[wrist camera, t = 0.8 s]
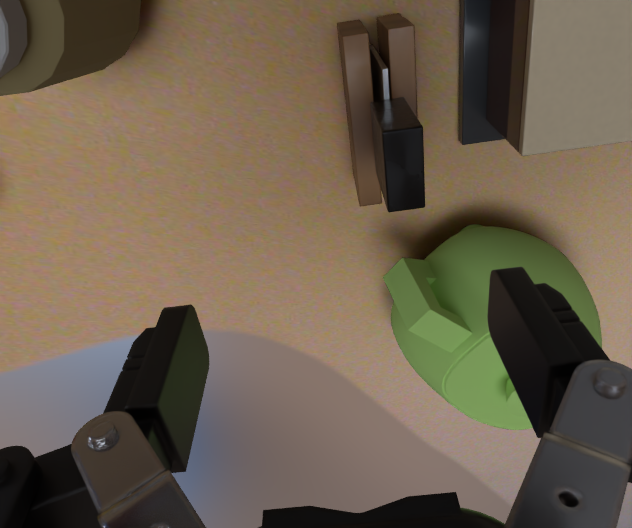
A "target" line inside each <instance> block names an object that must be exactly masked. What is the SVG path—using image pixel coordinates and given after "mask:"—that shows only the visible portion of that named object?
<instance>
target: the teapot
mask: <svg viewBox="0 0 632 528" xmlns="http://www.w3.org/2000/svg"><path fill="white" fill-rule="evenodd" d="M513 267H523V268H524V269H525V271H526V272H527V274H528V275H529V277H530V278H531V280H532V281H533V283H534V284H541V283H546V284H548V285H549V286H551V287H552V288H554V289H555V290H557V291H558V292H560V293H562V294H563V296H564V297H565V299H566V300H567V301H568V303H569V304H570V305H571V307H572V310H574V311H575V312H576V314H577V315H578V317H579V318H580V321H582V322H583V323H584V325H585V326H586V328H587V329H588V330H589V332H590V333H591V335H592V336H593V337H594V339H595V340H596V341H597V343H598V344H599V346H600V347H601V348H602V338H601V328H600V320H599V316H598V312H597V309H596V306H595V304H594V301H593V299H592V296H591V294H590V292H589V290H588V288H587V286H586V284H585V282H584V280H583V279H582V277H581V275H580V274H579V272H578V271H577V270H576V268H575V267H574V266H573V264H572V263H571V262H570V261H569V260H568V259H567V257H566V256H565V255H564V254H562V253H561V252H560V251H559V250H557V249H556V248H555V247H553V246H552V245H550V244H548V243H547V242H545V241H543V240H541V239H539V238H537V237H534V236H532V235H530V234H527V233H524V232H521V231H517V230H513V229H509V228H502V227H492V226H490V227H484V226H482V225H478V224H473V225H469V226H466V227H465V228H463V229H462V230H461V231H460V232H459V233H458V234H456V235H454V236H452V237H450V238H449V239H448V240H446V241H445V242H444V243H442V244H441V245H440V246H438V247H437V248H436V249H435V250H434V251H433V252H432V253H430V254H429V255H428V256H427V257H426V258H425V259H424V260H419V259H411V258H403V257H402V258H401V259H400V260H399V261H398V262H397V263H396V264H395V265H394V266H393V267H392V269H391V270H390V271H389V272H388V273H387V274H386V275H385V276H384V277H383V279H384V281H385V283H386V285H387V287H388V289H389V292H390V294H391V296H392V298H393V300H394V303H393V306H392V310H391V325H392V329H393V333H394V335H395V338H396V340H397V342H398V345H399V347H400V349H401V350H402V352H403V354H404V356H405V357H406V359H407V360H408V362H409V363H410V365H411V366H412V367H413V369H414V370H415V371H416V372H417V373H418V374H419V376H420V377H421V378H422V379H423V380H424V381H425V382H426V383H427V384H428V385H429V386H430V387H431V388H432V389H433V390H435V391H436V392H437V393H438V394H439V395H440V396H441V397H443V398H444V399H445V400H446V401H447V402H448V403H450V404H451V405H452V406H454V407H455V408H456V409H458V410H459V411H461V412H462V413H464V414H465V415H467V416H468V417H470V418H472V419H474V420H476V421H479V422H481V423H484V424H487V425H490V426H494V427H498V428H503V429H511V430H522V429H529V428H533V427H532V425H531V422H530V420H529V418H528V416H527V414H526V412H525V410H524V407H523V405H522V403H521V401H520V399H519V397H518V394H517V392H516V390H515V388H514V386H513V384H512V382H511V379H510V377H509V375H508V373H507V371H506V369H505V367H504V364H503V362H502V360H501V358H500V356H499V354H498V352H497V349H496V347H495V345H494V343H493V341H492V338H491V336H490V332H489V327H488V318H487V315H488V299H489V284H490V274H491V271H492V270H496V269H505V268H513Z"/></svg>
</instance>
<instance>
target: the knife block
mask: <svg viewBox="0 0 632 528" xmlns="http://www.w3.org/2000/svg"><path fill="white" fill-rule="evenodd" d="M376 20H377V34H378V48H379V56H380V57H381V59H382V60H383V62H384V64H385V65H386V67H387V68H388V78H389V94H390V99H393V98H400V97H404V98H405V100H406V101H407V103H408V104H409V106H410V108H411V109H412V111H413V112H414V114H415V116H416V117H417V89H416V60H415V30H414V25H413V24H412V23H411V22H409V21H408V20H407V19H406V18H404V17H403V16H402V15H401V14H399V13H398V14H391V15H385V16H379V17H376ZM337 30H338V39H339V48H340V57H341V66H342V75H343V84H344V94H345V103H346V112H347V121H348V130H349V139H350V148H351V157H352V167H353V175H354V180H355V185H356V190H357V195H358V200H359V205H360V206H367V205H374V204H381V203H382V198H381V187H380V184H379V181H378V177H377V174H376V168H375V156H374V144H373V132H372V120H371V108H370V103H371V102H373V101H374V98H373V85H372V72H371V60H370V47H369V35H368V32H367V30H366V29H365V27H364V26H363V24H362V23H361V22H360V20H354V21H347V22H341V23H337ZM417 119H418V118H417Z"/></svg>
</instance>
